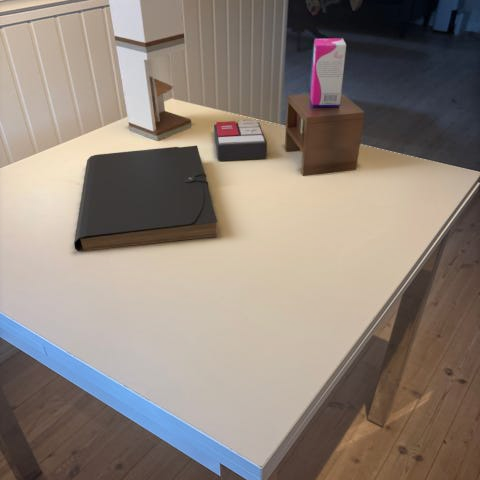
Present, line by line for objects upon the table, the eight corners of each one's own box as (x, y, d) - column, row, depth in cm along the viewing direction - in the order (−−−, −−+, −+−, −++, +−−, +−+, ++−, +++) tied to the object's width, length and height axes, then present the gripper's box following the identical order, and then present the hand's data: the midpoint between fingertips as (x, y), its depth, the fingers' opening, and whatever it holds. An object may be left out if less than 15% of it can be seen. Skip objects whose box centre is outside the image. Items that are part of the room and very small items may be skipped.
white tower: (157, 140, 118) (135, -38, 95) (129, 130, 123) (102, -41, 100) (191, 127, 124) (178, -43, 101) (163, 118, 130) (144, -46, 106)
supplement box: (337, 98, 103) (344, 37, 95) (339, 108, 99) (347, 44, 91) (309, 98, 103) (314, 37, 96) (311, 107, 99) (316, 44, 91)
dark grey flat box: (258, 118, 118) (267, 139, 106) (258, 136, 121) (266, 158, 109) (213, 120, 117) (217, 141, 106) (214, 138, 120) (217, 161, 108)
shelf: (333, 144, 115) (339, 90, 107) (356, 169, 105) (365, 112, 97) (284, 149, 113) (287, 95, 105) (302, 175, 103) (307, 117, 95)
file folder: (218, 219, 82) (71, 236, 79) (219, 240, 84) (77, 257, 82) (197, 143, 106) (85, 154, 103) (199, 161, 109) (89, 172, 106)
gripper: (284, -92, 84) (310, -2, 83) (356, -94, 87) (381, -9, 87) (270, -55, 91) (294, 27, 90) (337, -59, 95) (360, 20, 94)
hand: (337, 9), depth 89 cm, fingers open, 8 cm apart
